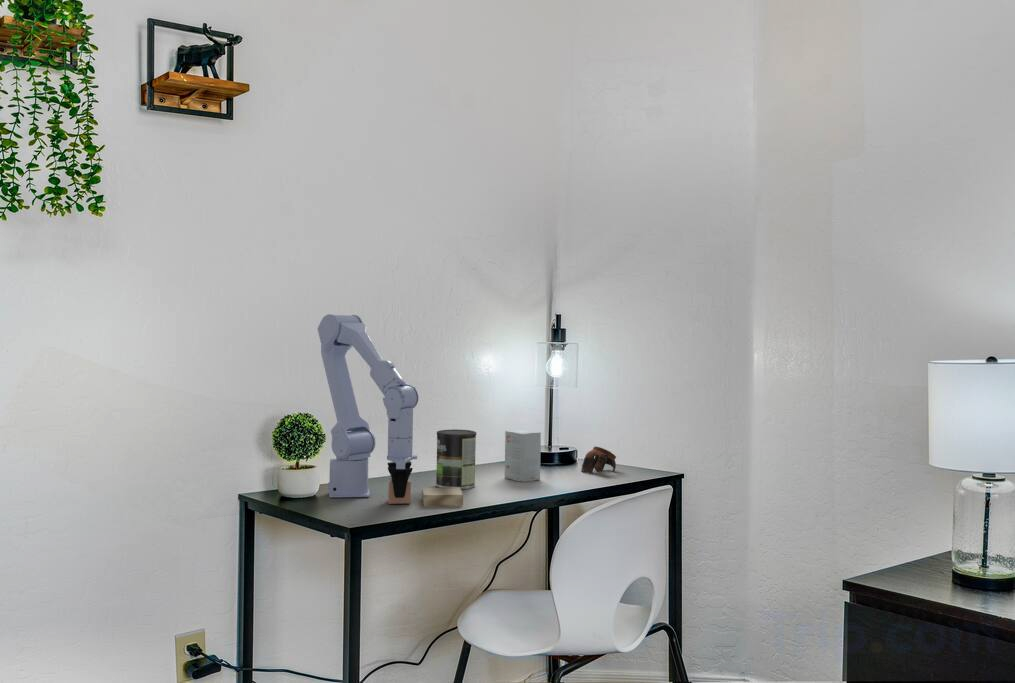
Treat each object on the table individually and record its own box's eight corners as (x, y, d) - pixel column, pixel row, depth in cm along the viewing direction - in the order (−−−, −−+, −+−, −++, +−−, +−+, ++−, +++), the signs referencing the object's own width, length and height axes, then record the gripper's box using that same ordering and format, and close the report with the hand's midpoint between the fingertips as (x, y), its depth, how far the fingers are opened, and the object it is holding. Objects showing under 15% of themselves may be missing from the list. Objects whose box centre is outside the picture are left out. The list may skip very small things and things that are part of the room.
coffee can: (442, 490, 218) (443, 434, 218) (431, 483, 228) (432, 429, 228) (480, 488, 222) (481, 433, 222) (468, 481, 231) (469, 428, 231)
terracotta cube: (388, 503, 200) (388, 482, 200) (388, 499, 205) (388, 478, 205) (410, 503, 201) (410, 481, 201) (409, 498, 206) (409, 477, 206)
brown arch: (575, 471, 254) (587, 446, 256) (604, 485, 254) (616, 460, 256) (583, 467, 243) (596, 440, 245) (614, 482, 242) (626, 456, 245)
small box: (540, 480, 235) (541, 432, 235) (522, 482, 231) (523, 433, 231) (521, 475, 242) (522, 429, 241) (503, 478, 238) (504, 430, 237)
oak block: (423, 508, 199) (424, 495, 199) (422, 500, 208) (422, 487, 208) (462, 507, 201) (463, 494, 200) (459, 499, 209) (459, 487, 209)
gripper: (419, 441, 196) (417, 501, 196) (416, 433, 210) (415, 488, 211) (387, 441, 195) (386, 501, 195) (386, 433, 209) (385, 489, 210)
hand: (399, 495), depth 203 cm, fingers closed on terracotta cube, 5 cm apart
